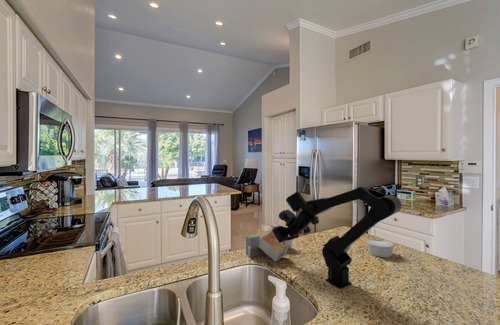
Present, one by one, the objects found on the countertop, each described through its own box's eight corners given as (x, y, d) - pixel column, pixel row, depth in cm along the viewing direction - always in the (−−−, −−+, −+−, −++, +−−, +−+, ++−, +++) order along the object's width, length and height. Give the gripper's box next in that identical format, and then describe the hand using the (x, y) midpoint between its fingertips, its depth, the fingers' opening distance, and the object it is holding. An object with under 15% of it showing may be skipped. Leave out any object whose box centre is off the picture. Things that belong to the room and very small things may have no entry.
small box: (279, 253, 99) (261, 237, 105) (275, 262, 102) (257, 246, 107) (289, 245, 105) (272, 230, 111) (286, 254, 107) (268, 239, 113)
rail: (292, 248, 117) (293, 239, 117) (250, 258, 106) (251, 247, 106) (289, 246, 120) (289, 237, 120) (247, 255, 108) (247, 245, 108)
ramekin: (386, 249, 117) (386, 239, 116) (398, 259, 105) (398, 247, 105) (363, 248, 118) (363, 238, 118) (372, 258, 107) (372, 246, 106)
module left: (260, 254, 110) (260, 235, 109) (251, 256, 107) (251, 237, 107) (255, 251, 114) (255, 232, 114) (245, 253, 111) (245, 234, 111)
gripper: (304, 202, 107) (286, 222, 115) (275, 207, 95) (257, 228, 103) (319, 223, 101) (299, 242, 109) (290, 231, 89) (270, 252, 97)
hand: (281, 240), depth 105 cm, fingers closed
